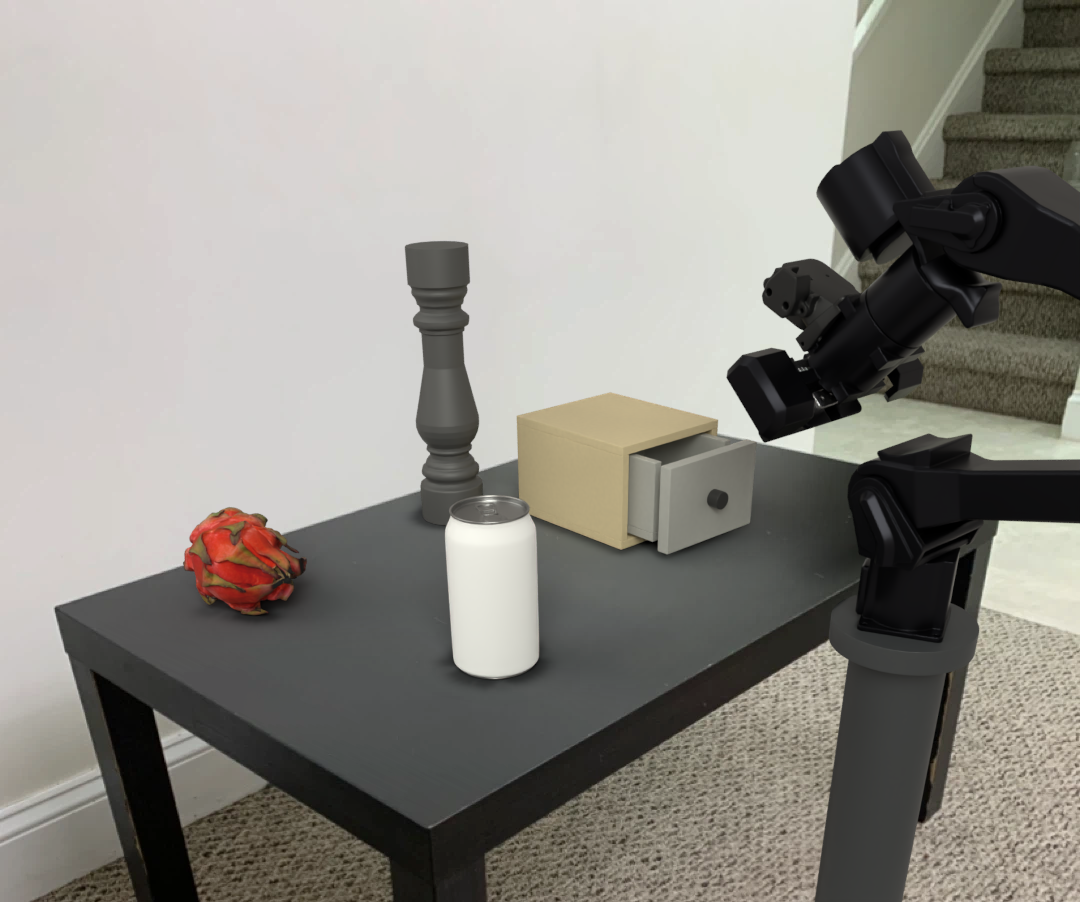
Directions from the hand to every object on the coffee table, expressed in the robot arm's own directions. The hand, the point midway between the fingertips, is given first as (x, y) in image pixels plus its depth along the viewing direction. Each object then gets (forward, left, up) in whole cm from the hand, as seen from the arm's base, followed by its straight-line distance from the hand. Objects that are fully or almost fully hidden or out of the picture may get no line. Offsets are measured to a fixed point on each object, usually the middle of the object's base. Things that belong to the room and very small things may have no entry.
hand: (763, 437), depth 92 cm
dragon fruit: (+37, +24, -11) cm, 45 cm away
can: (+13, +26, -11) cm, 31 cm away
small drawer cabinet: (+16, -7, -11) cm, 21 cm away
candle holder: (+31, -1, -11) cm, 33 cm away
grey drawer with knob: (+10, -5, -10) cm, 15 cm away
